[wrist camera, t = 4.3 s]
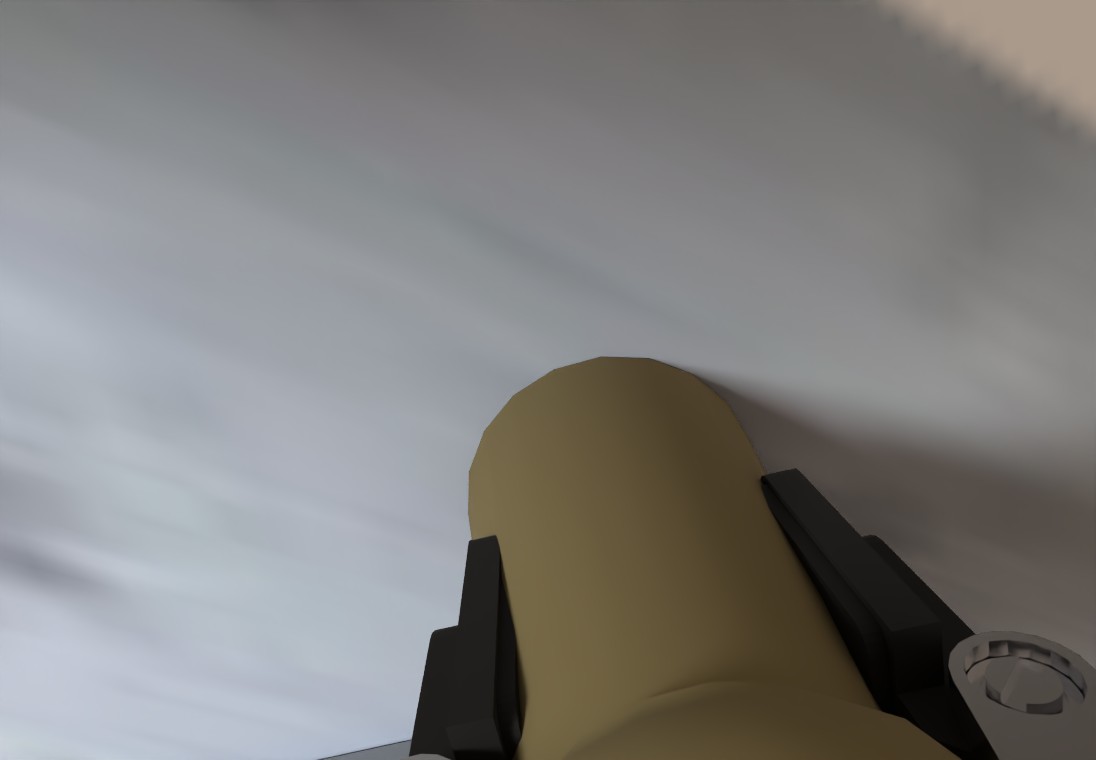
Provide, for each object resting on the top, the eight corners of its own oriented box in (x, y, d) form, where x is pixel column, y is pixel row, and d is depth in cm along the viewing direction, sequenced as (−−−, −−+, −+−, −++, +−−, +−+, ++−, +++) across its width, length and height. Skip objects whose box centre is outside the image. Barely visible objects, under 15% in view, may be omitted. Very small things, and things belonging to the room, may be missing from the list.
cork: (540, 659, 15) (599, 1739, 5) (415, 431, 14) (69, 1336, 3) (794, 555, 15) (1483, 1500, 4) (697, 305, 13) (1453, 858, 3)
